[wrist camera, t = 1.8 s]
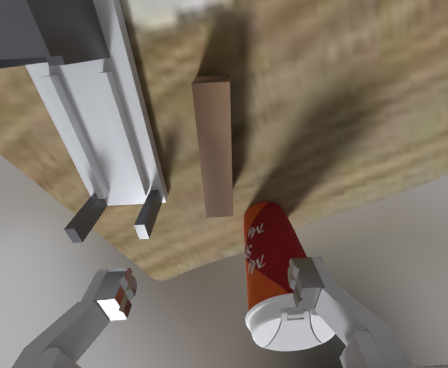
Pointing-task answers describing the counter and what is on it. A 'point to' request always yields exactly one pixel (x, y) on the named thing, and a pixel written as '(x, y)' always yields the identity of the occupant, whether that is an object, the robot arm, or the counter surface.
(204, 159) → the slat
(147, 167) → the endcap frame
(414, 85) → the counter surface
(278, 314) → the coffee cup
